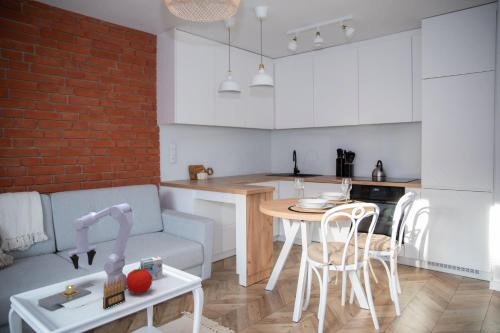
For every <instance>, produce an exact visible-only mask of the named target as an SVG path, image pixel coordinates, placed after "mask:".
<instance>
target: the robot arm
mask: <svg viewBox="0 0 500 333" xmlns="http://www.w3.org/2000/svg"><path fill="white" fill-rule="evenodd" d="M133 211H134V209H133V207H132V205H131V204H130V203H129V202H123V203H121V204H115V205H113V206H108V207H106V208H105V209H102V210H100V211H99V212H93V211H91V212H88V214H87V215H82V216H81V218H76V219H74V220H73V222H72V227H73V229H74V230H75V237H76V239H75V240H76V241H75V243H76V249H75V250H72V251H69V252H68V255H67V256H68V257H69V259H70V260H71V262H72V264H73V267H74V269H75V270H79V258H80V256H78V255H81V254H84V253H85V254H86V255H87V263H88V266H92V265H93V261H94V258H95V256H96V254H97V246H95V245H93V246H90V244H89V230H90V229H89V228H90V227H91V226H93V225H95V224H97V223H99V222H100V219H103V218H105V217H108V216H110V217H112V218H113V219H114V220H115V221H116V222H117V223H118V224H119V228H118V231H117V232H118V233H117V236H116V239H115V242H114V246H113V249H112V252H111V254H110V255H109V257H107V261H105V263H104V264H103V270H104V272H105V273H106V276H107V280H106V281H108V280H109V282H110V287H111V279H112V280H113V286H114V279H116V282H117V278H118V277H119V280H120V278H121V276H122V278H123V284H124V291H126V290H128V287H127V282H126V281H127V275H126V274H125V273H124V272H123V270H124V268H125V265H126V261H125V260H126V256H125V255H124V254H125V250H126V246H127V244H128V241H129V238H130V233H131V231H132V227H133V224H134V223H133Z"/></svg>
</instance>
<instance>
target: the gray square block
mask: <svg viewBox="0 0 500 333" xmlns="http://www.w3.org/2000/svg"><path fill="white" fill-rule="evenodd" d="M94 286H95V284H94V283H91V282H88V283H85V284H81V285H78V286H77V287H79V288H82V289H85V290H86V289H88V288H91V287H94Z"/></svg>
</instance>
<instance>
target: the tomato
mask: <svg viewBox="0 0 500 333" xmlns="http://www.w3.org/2000/svg"><path fill="white" fill-rule="evenodd" d="M126 277H127V281H126V282H127V287H128V289H127V290H128V291H129V292H130V293H131V294H137V295H138V294H144V293H146V292H147V291H148V290H149V289H150V288H151V287H152V284H153V280H152V276H151V274H150V273H149V271H147V270H146V269H141V267H140V266H139V267H138V268H136V269H133V270H132V271H130V272H129V273H127V275H126Z"/></svg>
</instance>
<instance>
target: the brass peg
mask: <svg viewBox="0 0 500 333" xmlns="http://www.w3.org/2000/svg"><path fill="white" fill-rule="evenodd" d="M74 288H75V285H74V284H73V285H67V286H65V291H66V296H70V295H73V294H74Z"/></svg>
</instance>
